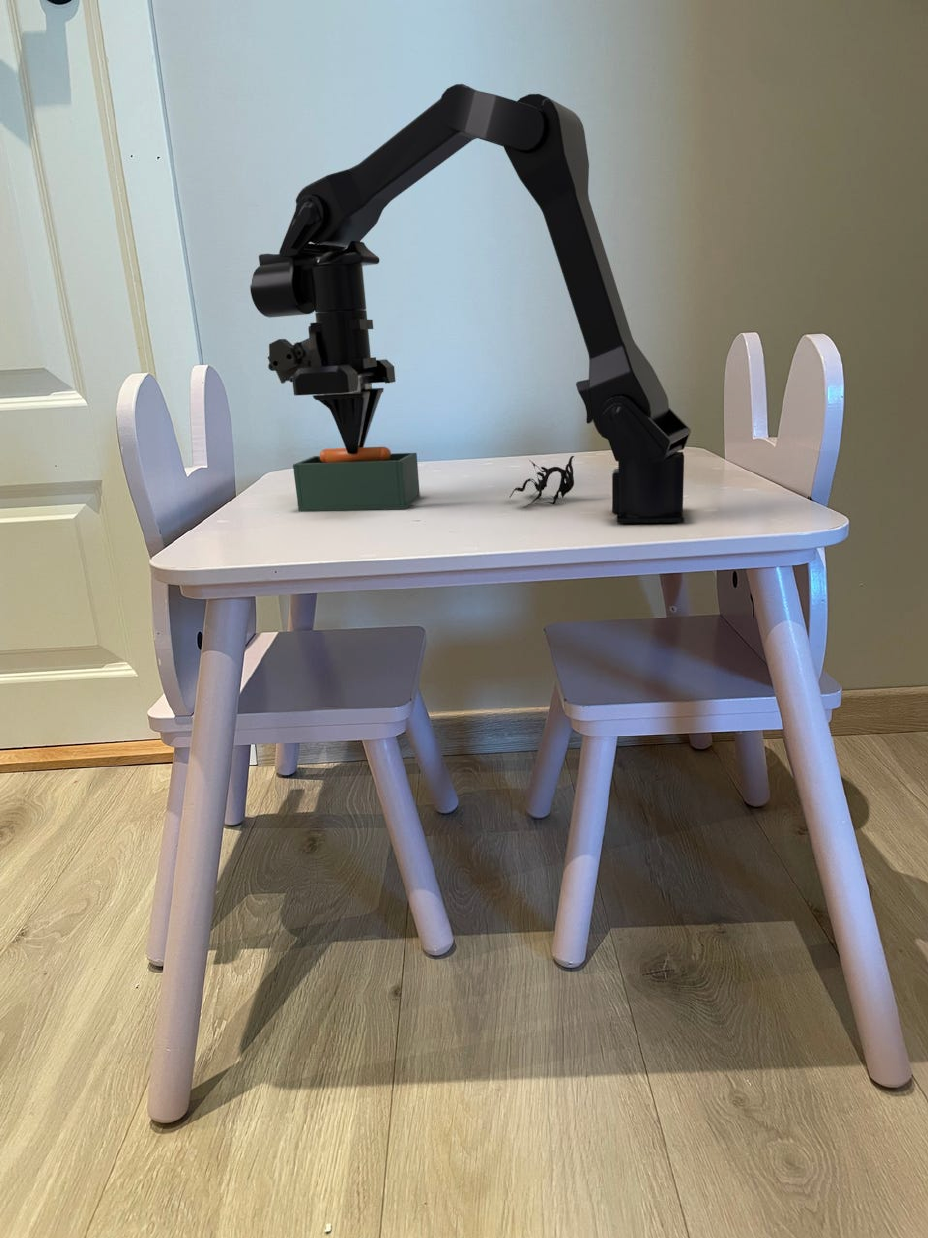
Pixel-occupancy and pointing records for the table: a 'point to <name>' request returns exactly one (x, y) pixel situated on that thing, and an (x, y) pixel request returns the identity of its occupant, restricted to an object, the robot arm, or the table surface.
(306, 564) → the table surface
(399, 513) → the table surface
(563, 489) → the creature
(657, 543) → the table surface
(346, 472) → the bin
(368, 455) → the orange capsule cylinder
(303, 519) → the table surface
